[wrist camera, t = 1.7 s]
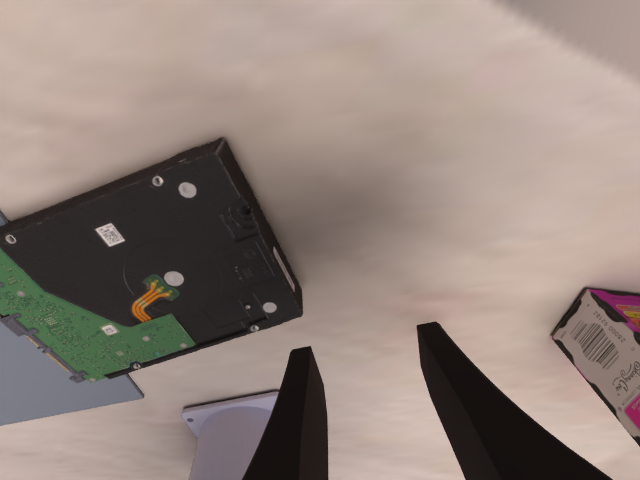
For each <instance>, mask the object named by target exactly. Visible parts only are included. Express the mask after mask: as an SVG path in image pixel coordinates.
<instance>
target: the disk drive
mask: <svg viewBox="0 0 640 480" xmlns="http://www.w3.org/2000/svg"><path fill="white" fill-rule="evenodd" d="M302 315H303V303H302V289H301V287H300V286H299V284H298V281H297V280H296V279H295V276H294V274H293V273H292V270H291V268H290V265H289V263H288V261H287V260H286V257H285V256H284V254H283V252H282V250H281V248H280V246H279V244H278V242H277V240H276V238H275V236H274V234H273V232H272V230H271V228H270V226H269V224H268V223H267V221H266V218H265V216H264V214H263V213H262V211H261V209H260V206H259V204H258V202H257V200H256V198H255V197H254V194H253V192H252V190H251V189H250V187H249V185H248V183H247V181H246V179H245V177H244V175H243V173H242V172H241V171H240V168H239V167H238V165H237V163H236V161H235V159H234V156H233V154H232V152H231V150H230V148H229V146H228V144H227V142H226V140H224V139H223V138H220V139H218V140H217V141H215V142H211V143H210V144H206V145H203V146H201V147H198V148H194V149H191V150H188V151H186V152H183V153H180V154H178V155H176V156H174V157H172V158H171V159H168V160H166V161H163V162H161V163H159V164H156V165H154V166H151V167H148V168H146V169H144V170H140V171H138V172H136V173H134V174H131V175H129V176H126V177H123V178H121V179H119V180H116V181H114V182H112V183H109V184H106V185H104V186H101V187H99V188H97V189H94V190H92V191H90V192H88V193H85V194H82V195H80V196H76V197H74V198H72V199H69V200H66V201H64V202H61V203H59V204H57V205H54V206H52V207H49V208H47V209H44V210H41V211H39V212H36V213H34V214H32V215H29V216H27V217H24V218H21V219H17V220H15V221H11V222H9V223H7V224H5V225H2V226H0V317H1V318H0V322H1V323H3V325H4V326H6V327H7V328H9V329H10V330H11V331H12V332H13V333H15V334H16V335H17V336H18V337H19V336H22V335H26V338H27V339H28V340H30V341H31V342H32V343H34V344H35V345H36V346H37V349H40V348H43V349H44V350H43V351H42V353H44V354H46V355H48V356H49V357H50V358H51V359H52V360H54V361H55V362H56V363H57V364H58V365H60V366H61V367H62V368H63V369H64V370H65V371H67V372H71V373H72V374H73V376H71V377H70V378H69V379H70V380H71V381H74V382H75V383H79V382H82V381H84V380H88V381H89V382H90V383H92V382H96V381H99V380H102V379H105V378H107V379H112V378H115V377H119V376H122V375H125V374H127V373H130V372H132V371H135V370H138V369H141V368H145V367H148V366H151V365H154V364H158V363H161V362H164V361H167V360H170V359H173V358H176V357H178V356H182V355H186V354H188V353H192V352H196V351H197V350H200V349H203V348H207V347H210V346H213V345H216V344H220V343H223V342H225V341H229V340H231V339H234V338H238V337H241V336H244V335H247V334H250V333H254V332H256V331H260V330H264V329H268V328H271V327H274V326H276V325H280V324H282V323H284V322H287V321H290V320H292V319H295V318H298V317H301V316H302Z"/></svg>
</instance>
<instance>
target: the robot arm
mask: <svg viewBox="0 0 640 480" xmlns="http://www.w3.org/2000/svg"><path fill="white" fill-rule="evenodd" d="M417 334H418V343H419V353H420V363H421V369H422V372H423V375H424V378H425V381H426V385H427V388H428V391H429V394H430V397H431V399H432V402H433V404H434V406H435V409H436V411H437V413H438V416H439V418H440V420H441V423H442V425H443V427H444V430H445V432H446V434H447V437H448V439H449V441H450V444H451V446H452V448H453V451H454V453H455V455H456V458H457V460H458V462H459V464H460V467H461V469H462V472H463V474H464V477H465V479H466V480H613V479H611V478H610V477H609V476H607V475H606V474H604V473H603V472H602V471H600V470H599V469H597V468H596V467H595V466H593V465H592V464H591V463H589V462H588V461H586V460H585V459H584V458H582V457H581V456H579V455H578V454H577V453H575V452H574V451H573V450H571V449H570V448H568V447H567V446H566V445H564V444H563V443H562V442H561V441H559V440H558V439H557V438H556V437H554V436H553V435H552V434H550V433H549V432H548V431H547V430H545V429H544V428H543V427H542V426H541V425H539V424H538V423H537V422H536V421H534V420H533V419H532V418H531V417H530V416H528V415H527V414H526V413H525V412H524V411H523V410H521V409H520V408H519V407H518V406H517V405H516V404H515V403H514V402H512V401H511V400H510V399H509V398H508V397H507V396H506V395H505V394H504V393H503V392H502V391H501V390H499V389H498V388H497V387H496V386H495V385H494V384H493V383H492V382H491V381H490V380H489V379H488V378H487V377H486V376H485V375H484V374H483V373H482V372H481V371H480V370H479V369H478V368H477V367H476V366H475V365H474V364H473V363H472V362H471V361H470V359H469V358H468V357H467V356H466V355H465V354H464V353H463V352H462V351H461V350H460V348H459V347H458V346H457V345H456V344H455V343H454V342H453V340H452V339H451V338H450V337H449V336H448V334H447V333H446V332H445V331H444V329H443V328H442V327H441V325H440V324H439V323H437V322H431V323H426V324H421V325H417ZM181 417H182V419H183V420H184V421H185V423H186V424H187V425H188V427H189V428H190V430H191V431H192V432H193V434H194V435H195V436H196V438H197V439H198V442H197V447H196V451H195V455H194V459H193V463H192V467H191V472H190V476H189V480H328V425H327V409H326V400H325V392H324V384H323V381H322V378H321V375H320V372H319V369H318V366H317V364H316V361H315V358H314V355H313V352H312V349H311V346H308V347H303V348H298V349H293V350H292V351H291V352H290V356H289V360H288V364H287V368H286V371H285V375H284V378H283V381H282V384H281V387H280V391H279V392H270V393H265V394H260V395H254V396H249V397H244V398H238V399H233V400H228V401H223V402H217V403H212V404H207V405H201V406H196V407H191V408H186V409H184V410H182V414H181Z"/></svg>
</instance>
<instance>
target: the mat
mask: <svg viewBox="0 0 640 480" xmlns="http://www.w3.org/2000/svg"><path fill="white" fill-rule="evenodd" d="M7 223H9V222H8V220H7V219H6V218H5V216H4V215H3V214H2V213H1V211H0V226H2V225H5V224H7ZM0 318H1V317H0ZM43 350H44V349H43V348H40V349H37V346H36V345H35V344H34V343H32V342H31V341H30V340H28V339H27V338H26V335H22V336H19V337H18V336H17V335H16V334H15V333H13V332H12V331H11V330H10V329H9V328H7V327H6V326H4V325H3V323H1V322H0V426H2V425H7V424H12V423H17V422H22V421H28V420H33V419H38V418H43V417H48V416H54V415H59V414H64V413H69V412H74V411H80V410H85V409H90V408H95V407H100V406H106V405H111V404H116V403H121V402H126V401H132V400H137V399H142V398H144V395H143V393H142V392H141V391H140V390H139V388H138V387H137V386H136V385H135V383H134V382H133V381H132V379H131V378H130V377H129V376H128V374H125V375H122V376H119V377H115V378H112V379H107V378H105V379H102V380H99V381H96V382H92V383H90V382H89V381H88V380H84V381H82V382H79V383H75V382H74V381H71V380H70V379H69V378H70V377H71V376H73V374H72V373H71V372H67V371H65V370H64V369H63V368H62V367H61V366H60V365H58V364H57V363H56V362H55V361H54V360H52V359H51V358H50V357H49V356H48V355H46V354H44V353H42V351H43Z"/></svg>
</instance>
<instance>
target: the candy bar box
mask: <svg viewBox="0 0 640 480" xmlns="http://www.w3.org/2000/svg"><path fill="white" fill-rule="evenodd" d="M552 339H553V340H554V342H555V343H556V344H557V345H558V347H559V348H560V349H561V350H562V351H563V353H564V354H565V355H566V356H567V358H568V359H569V360H570V361H571V362H572V364H573V365H574V366H575V367H576V368H577V370H578V371H579V372H580V373H581V375H582V376H583V377H584V378H585V380H586V381H587V382H588V383H589V384H590V386H591V387H592V388H593V390H594V391H595V392H596V393H597V394H598V396H599V397H600V398H601V399H602V400H603V402H604V403H605V404H606V405H607V406H608V408H609V409H610V410H611V412H612V413H613V414H614V415H615V416H616V418H617V419H618V420H619V422H620V423H621V424H622V425H623V427H624V428H625V429H626V431H627V432H628V433H629V434H630V435H631V437H632V438H633V439H634V440H635V441H636V442H637V444H638V445H639V446H640V295H637V294H628V293H620V292H611V291H602V290H593V289H586V290H585V291H584V292H583V293H582V295H581V296H580V297H579V299H578V300H577V301H576V303H575V304H574V306H573V307H572V308H571V310H570V311H569V313H568V314H567V315H566V316H565V317H564V319H563V320H562V322H561V323H560V324H559V325H558V327H557V328H556V330H555V332H554V333H553V335H552Z"/></svg>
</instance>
